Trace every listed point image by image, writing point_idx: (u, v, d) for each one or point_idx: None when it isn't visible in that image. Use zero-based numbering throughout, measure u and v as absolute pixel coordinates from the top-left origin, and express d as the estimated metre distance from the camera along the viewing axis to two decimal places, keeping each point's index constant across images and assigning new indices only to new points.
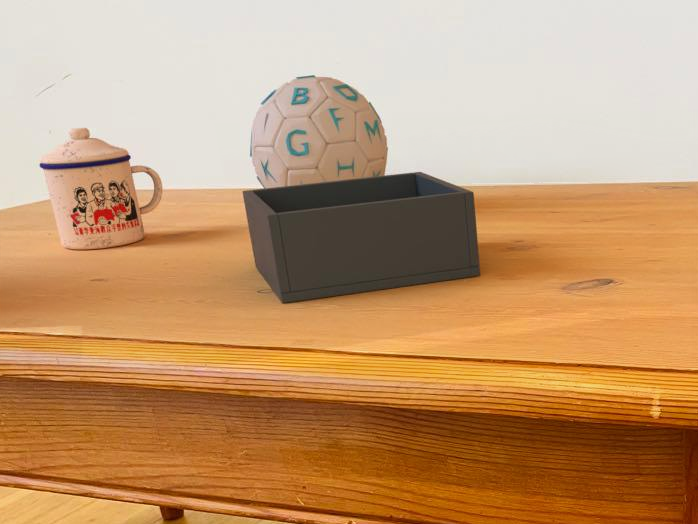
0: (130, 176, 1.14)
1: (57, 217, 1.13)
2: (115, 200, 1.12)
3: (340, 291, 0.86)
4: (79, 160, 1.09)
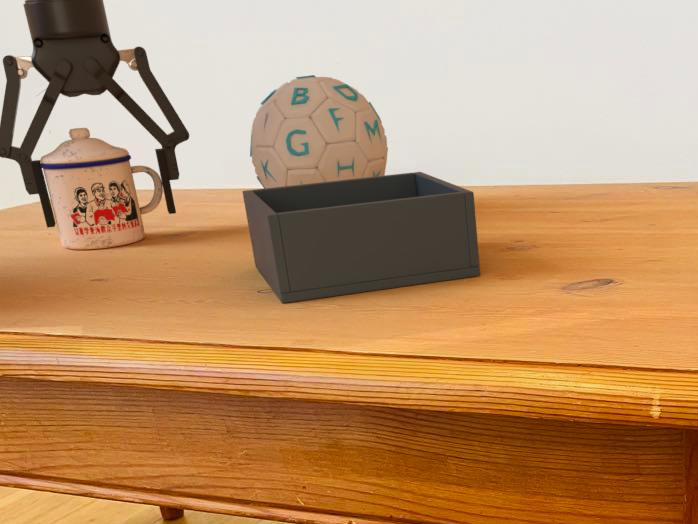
0: (130, 176, 1.14)
1: (57, 217, 1.13)
2: (115, 200, 1.12)
3: (340, 291, 0.86)
4: (79, 160, 1.09)
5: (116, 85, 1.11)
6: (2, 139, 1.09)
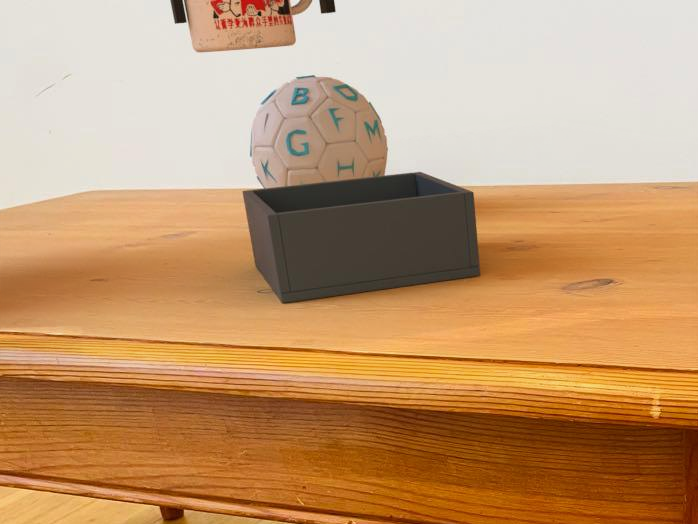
0: None
1: (191, 8, 0.88)
2: None
3: (340, 291, 0.86)
4: None
5: None
6: None
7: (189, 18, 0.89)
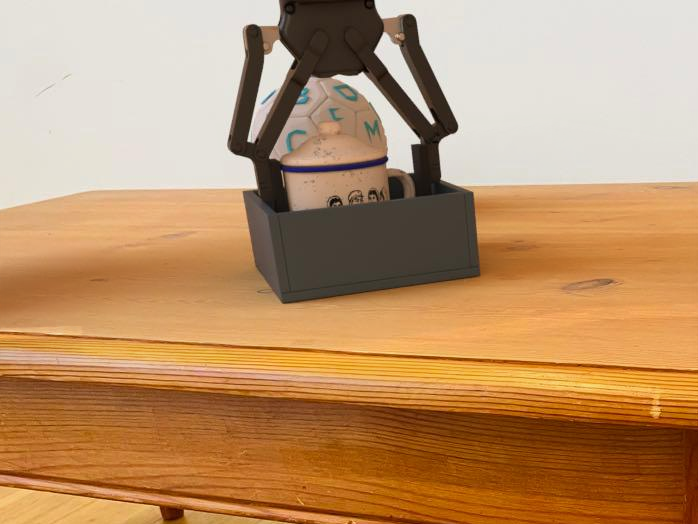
0: (387, 182, 0.91)
1: None
2: None
3: (340, 291, 0.86)
4: (337, 161, 0.86)
5: (380, 63, 0.87)
6: (238, 132, 0.86)
7: None
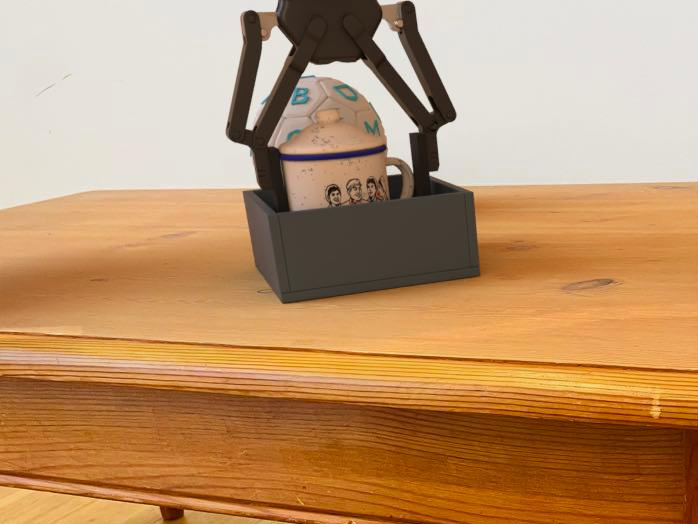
0: (386, 170, 0.90)
1: None
2: (372, 201, 0.89)
3: (340, 291, 0.86)
4: (335, 150, 0.86)
5: (378, 50, 0.87)
6: (236, 119, 0.85)
7: None
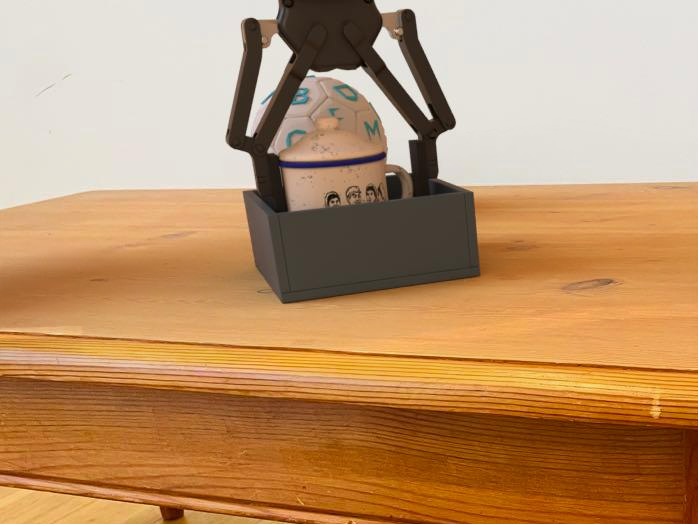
0: (385, 178, 0.91)
1: None
2: None
3: (340, 291, 0.86)
4: (335, 157, 0.86)
5: (378, 58, 0.87)
6: (236, 126, 0.86)
7: None
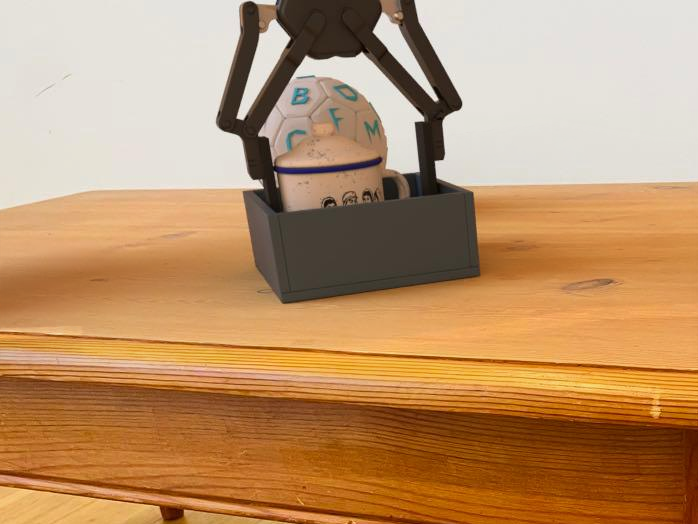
0: None
1: None
2: None
3: (340, 291, 0.86)
4: (331, 163, 0.86)
5: (379, 42, 0.86)
6: (227, 108, 0.85)
7: None
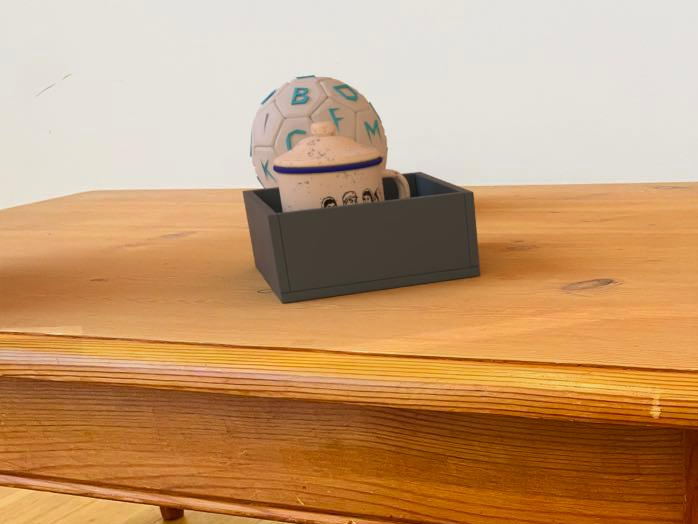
0: None
1: None
2: None
3: (340, 291, 0.86)
4: (331, 162, 0.86)
5: None
6: None
7: None
